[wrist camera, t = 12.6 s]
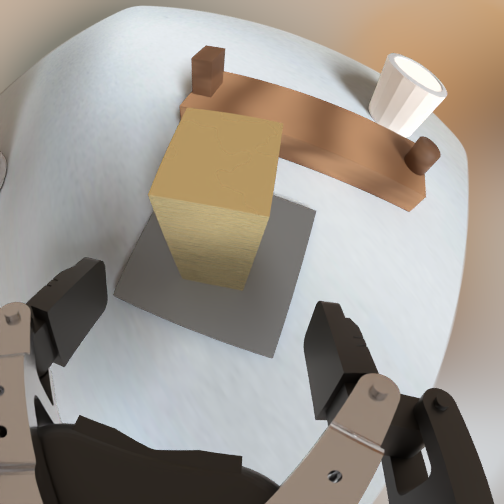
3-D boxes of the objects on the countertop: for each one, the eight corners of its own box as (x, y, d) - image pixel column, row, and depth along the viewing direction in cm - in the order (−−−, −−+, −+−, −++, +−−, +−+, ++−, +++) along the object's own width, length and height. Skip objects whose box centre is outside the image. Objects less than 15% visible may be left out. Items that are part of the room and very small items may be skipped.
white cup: (355, 115, 24) (382, 63, 18) (370, 90, 27) (392, 46, 20) (412, 152, 24) (448, 107, 17) (419, 121, 26) (447, 82, 20)
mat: (116, 297, 16) (113, 294, 15) (181, 170, 20) (180, 164, 19) (270, 357, 16) (272, 358, 15) (313, 215, 19) (316, 211, 19)
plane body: (181, 128, 21) (176, 69, 16) (211, 89, 23) (213, 37, 18) (410, 212, 21) (452, 173, 15) (409, 163, 23) (442, 123, 17)
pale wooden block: (182, 278, 16) (148, 194, 8) (197, 218, 18) (186, 107, 9) (242, 290, 16) (269, 217, 8) (253, 229, 18) (283, 123, 9)
